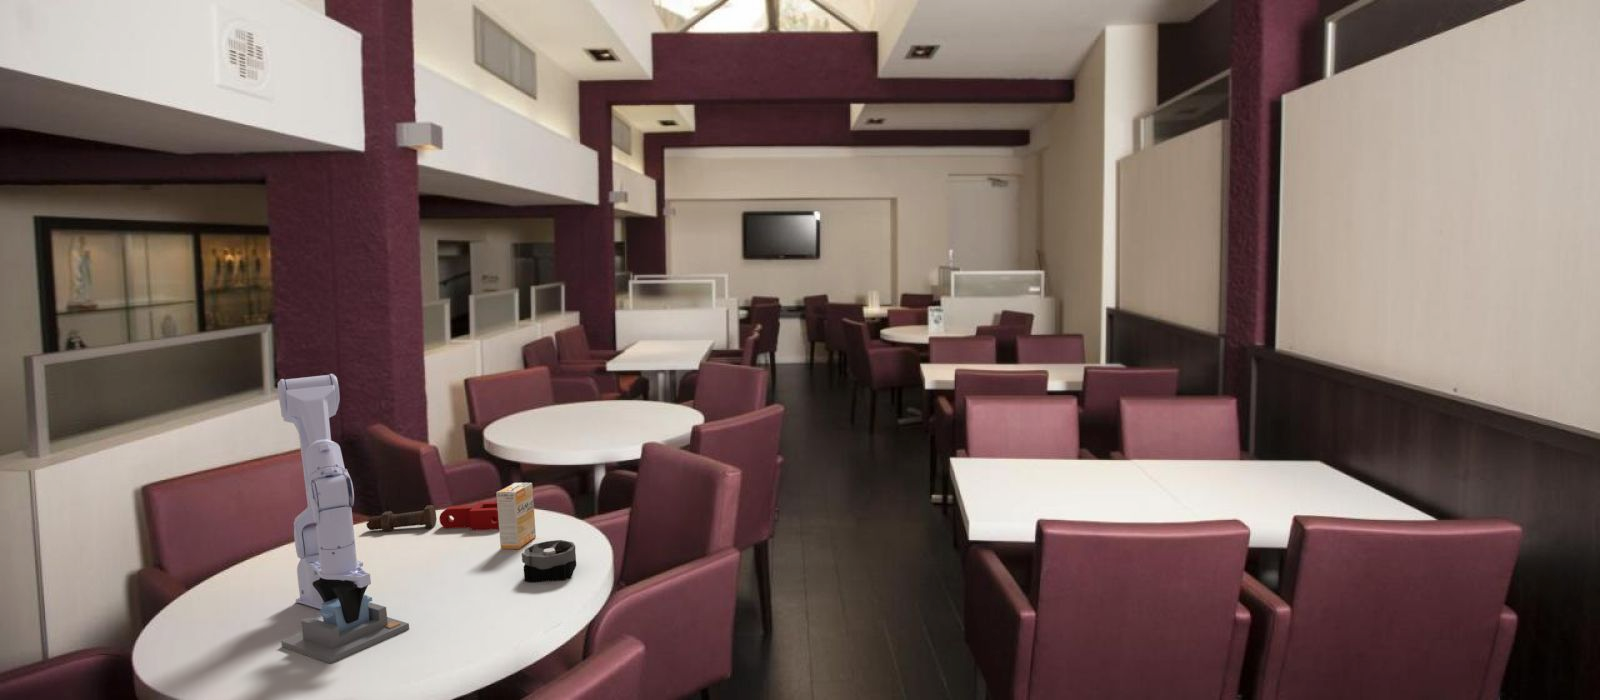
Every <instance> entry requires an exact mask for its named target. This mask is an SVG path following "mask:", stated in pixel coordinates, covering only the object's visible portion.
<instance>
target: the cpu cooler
mask: <svg viewBox="0 0 1600 700" xmlns="http://www.w3.org/2000/svg"><path fill="white" fill-rule="evenodd" d="M576 555H577V554H576V545H575V543H574V542H573V541H569V540H563V539H558V540H557V539H556V540H555V539H554V540H547V541H541V542H538V543H534V544H531V545H530V546H528V547H526V548H525V549H524V552H521V562H522V563H523V564H524V565H523V575H524V576H523V578H524V582H529V583H541V581H542V582H543V581H545V582H557V581H558V580H559V581H561V580H562V581H566V578H567V579H572V576H573V574H574V572H573V571H575V570H574V569H576V566H577V556H576ZM546 580H547V581H546ZM548 580H549V581H548ZM552 580H553V581H552ZM536 581H537V582H536Z"/></svg>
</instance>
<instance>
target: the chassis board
mask: <svg viewBox="0 0 1600 700" xmlns="http://www.w3.org/2000/svg"><path fill="white" fill-rule="evenodd" d="M368 609H369V619H370V621H368V622H365V623H363V624H361V625H358V626H356V627H353V628H351V629H349V630H346V631H344V632H341V633H339V626H336V625H333V624H329V623H326V622H323V620H319V619H316V618H314V617H310V616H309V617H306V618H304V619H301V620H300V623H301V631H302V632H299V634H296V635H294V636H291V637H288V638H286V639H283V640H281V641H280V642H281V647H282V648H284V649H288V650H290V651H293V652H297V653H299V654H302V655H304V656H307V657H310V658H313V659H316V660H319V661H321V662H324V663H326V664H333V663H335V662H337V661H339V660H341V659H344V658H346V657H348V656H350V655H353V654H355V653H357V652H359V651H362V650H364V649H367V648H369V647H371V646H373V645H375V644H377V643H380V642H382V641H385V640H387V639H390V638H391V637H394V636H396V635H398V634H401V633H402V632H405V631H408V630H410V624H409V622H405V621H402V620H399V619H395V618H392V617H389V616H388V614H387V612H388V611H387V607H386V606H384V605H380V604H376V603H373V602H371V601H370V602H368Z"/></svg>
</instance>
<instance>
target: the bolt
mask: <svg viewBox="0 0 1600 700" xmlns="http://www.w3.org/2000/svg"><path fill="white" fill-rule="evenodd" d="M436 511H437V510H436V507H434V505H432V504H430V505H428V504H427V505H426V507H424V509H423V510H419V511H414V512H413V511H412V512H404V513H403V512H402V513H395V514H394V513H393V512H392V511H391V510H389V511H384V512H383V513H382V514H381V515H377V516H371V517H369V518H367V519H366V524H365V525H366V528H367V529H368V530H369V531H376V530H382V531H383V532H385V533H386V532H392V531H394V529H395V528H402V527H413V526H415V527H416V526H425V528H426V529H427V530H428V529H431V530H432V529H433V528H435V527H436V525H437V512H436Z"/></svg>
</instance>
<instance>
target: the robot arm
mask: <svg viewBox="0 0 1600 700" xmlns="http://www.w3.org/2000/svg"><path fill="white" fill-rule="evenodd" d="M277 394H278V400H279V401H278V402H279V407H280V413H281V417H282V418H283V419H282V420H283V421H284V422H287V423H290V424H294V426H295V429H296V431H297V434H298V438H299V446H300V454H301V455H300V456H301V460H302V461H301V462H302V471H303V476H304V478H303V479H304V485H305V486H304V488H305V494H306V503H307V507H306V508H305V509H304V510H303V511H302V512H301V513H299V514H298V515H297V516H296V517H295V518H294V521H293V529H294V530H293V537H294V538H293V539H294V546H295V552H296V556H297V558H299V559H300V560H299V561H298V564H297V566H296V567H297V568H296V574H297V575H296V576H297V582H298V593H299V597H298V598H296V599H295V602H296V603H299V604H302V605H305V606H308V607H310V608H311V607H312V608H315V609H318V610H322V603H325V602H327V601H330V600H332V599H335V598H338V599H339V602H340V605H341V608H342V613H343V616H344V619H345V622H346V623H347V624H349V623H352V622H354V621H356V620H358V619H359V614H360V608H361V603H362V599H363V596H364V595H365V592H366V591H367V588H368V586H370V585H372V581H371V574H370V573H369V572H367V571H365V570H364V568H362V567H363V566H364V562H363V561H360V560H358V559H357V549H356V542H355V541H356V539H355V530H354V520H353V519H354V518H353V512H352V509H353V508H352V507H353V506H354V503H355V502H354V501H355V493H354V491H355V490H354V486H353V481H352V478H351V476H350V474H349V472H348V469H347V468H345V463H344V459H343V455H342V450H341V446H340V445H339V443H337V442H335V441H333V440H332V437H331V426H330V425H331V424H330V418H332V417H334V416H336V415H337V411H338V409H339V404H340V399H341V397H340V386H339V381H338V377H337V376H336V375H335V374H334V373H329V374H326V375H325V374H324V375H315V376H307V377H299V378H297V377H296V378H288V379H284V378H281V379H280V380H279V381H278V382H277ZM313 523H314V524H313Z"/></svg>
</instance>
